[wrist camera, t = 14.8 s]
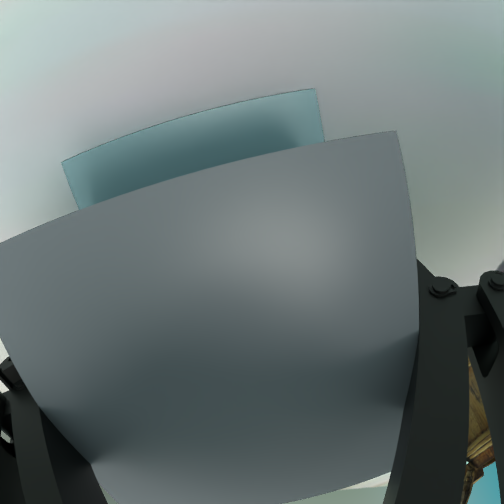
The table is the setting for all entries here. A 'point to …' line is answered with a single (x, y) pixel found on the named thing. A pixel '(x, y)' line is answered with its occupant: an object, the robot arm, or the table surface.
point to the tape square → (194, 145)
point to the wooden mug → (476, 439)
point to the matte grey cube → (226, 326)
